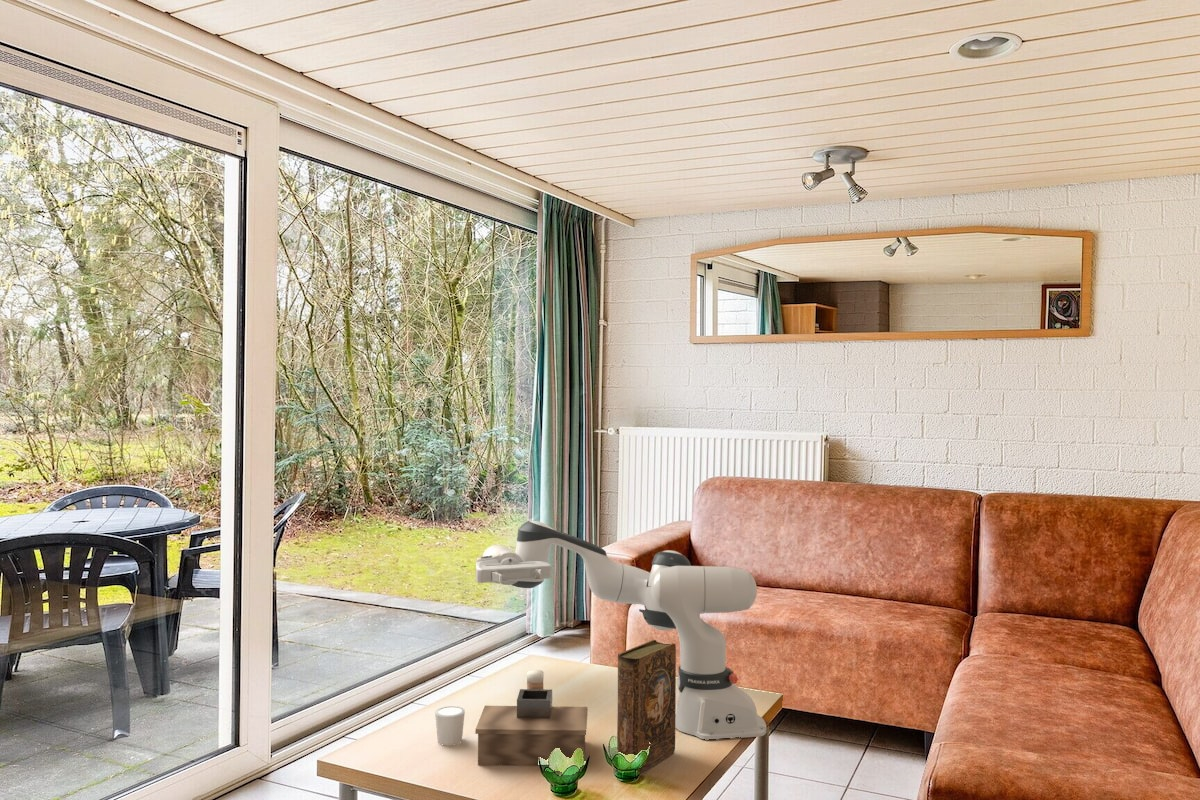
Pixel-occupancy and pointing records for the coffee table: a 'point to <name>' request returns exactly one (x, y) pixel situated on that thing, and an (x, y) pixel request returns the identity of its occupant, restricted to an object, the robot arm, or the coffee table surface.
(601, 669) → the coffee table surface
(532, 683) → the white tipped wooden peg
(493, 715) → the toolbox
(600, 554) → the robot arm
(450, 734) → the white cup
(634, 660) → the book
